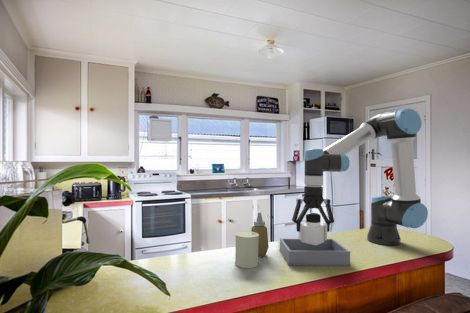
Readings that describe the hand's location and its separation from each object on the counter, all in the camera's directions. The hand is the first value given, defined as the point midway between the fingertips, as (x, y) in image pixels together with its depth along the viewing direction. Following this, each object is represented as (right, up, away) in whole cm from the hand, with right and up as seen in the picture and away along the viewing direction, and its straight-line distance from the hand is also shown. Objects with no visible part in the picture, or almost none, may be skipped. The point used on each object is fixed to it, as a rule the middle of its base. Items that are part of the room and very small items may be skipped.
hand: (312, 239), depth 124 cm
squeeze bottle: (-22, -8, +2) cm, 24 cm away
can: (-28, -7, -8) cm, 30 cm away
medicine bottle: (0, -1, 0) cm, 1 cm away
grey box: (0, -8, 0) cm, 8 cm away
